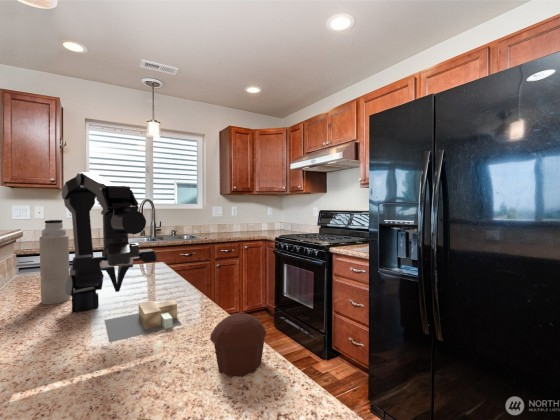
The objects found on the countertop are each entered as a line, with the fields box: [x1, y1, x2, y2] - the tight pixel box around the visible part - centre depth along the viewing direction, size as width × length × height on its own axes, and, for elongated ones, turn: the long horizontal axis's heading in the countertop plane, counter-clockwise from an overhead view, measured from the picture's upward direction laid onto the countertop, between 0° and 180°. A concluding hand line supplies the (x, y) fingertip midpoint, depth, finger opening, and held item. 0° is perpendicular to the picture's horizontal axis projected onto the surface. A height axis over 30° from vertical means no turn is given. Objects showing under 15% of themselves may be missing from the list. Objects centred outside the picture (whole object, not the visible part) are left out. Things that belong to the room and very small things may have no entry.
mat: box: [104, 312, 183, 343], centre depth 81 cm, size 17×16×1 cm
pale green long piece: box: [154, 300, 174, 330], centre depth 84 cm, size 2×16×2 cm, turn 34°
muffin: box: [209, 312, 267, 378], centre depth 61 cm, size 12×11×10 cm
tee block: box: [138, 299, 178, 329], centre depth 83 cm, size 9×10×4 cm
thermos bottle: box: [39, 219, 71, 305], centre depth 101 cm, size 8×8×28 cm
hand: (117, 291), depth 77 cm, fingers closed
